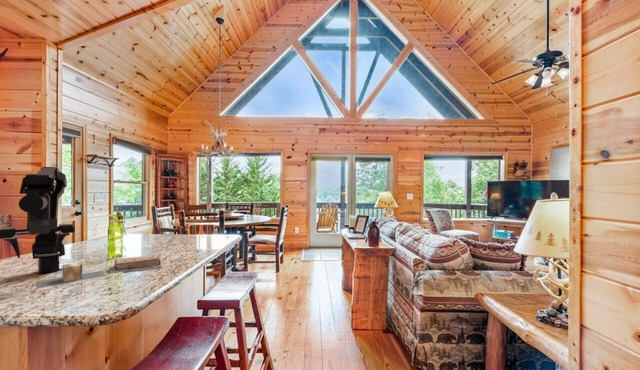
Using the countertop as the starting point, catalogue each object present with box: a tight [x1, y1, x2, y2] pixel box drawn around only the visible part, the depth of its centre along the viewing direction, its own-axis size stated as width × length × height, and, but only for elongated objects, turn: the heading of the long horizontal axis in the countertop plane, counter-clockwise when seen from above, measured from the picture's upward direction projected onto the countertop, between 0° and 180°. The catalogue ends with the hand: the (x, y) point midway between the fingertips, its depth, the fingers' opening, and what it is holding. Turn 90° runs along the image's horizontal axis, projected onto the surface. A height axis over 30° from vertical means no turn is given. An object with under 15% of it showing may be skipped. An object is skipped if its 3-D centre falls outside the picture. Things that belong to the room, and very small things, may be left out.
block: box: [61, 262, 83, 282], centre depth 108 cm, size 5×5×5 cm
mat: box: [35, 270, 107, 289], centre depth 108 cm, size 19×9×1 cm, turn 136°
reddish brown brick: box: [109, 254, 162, 274], centre depth 124 cm, size 18×5×10 cm
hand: (38, 255), depth 101 cm, fingers open, 9 cm apart
